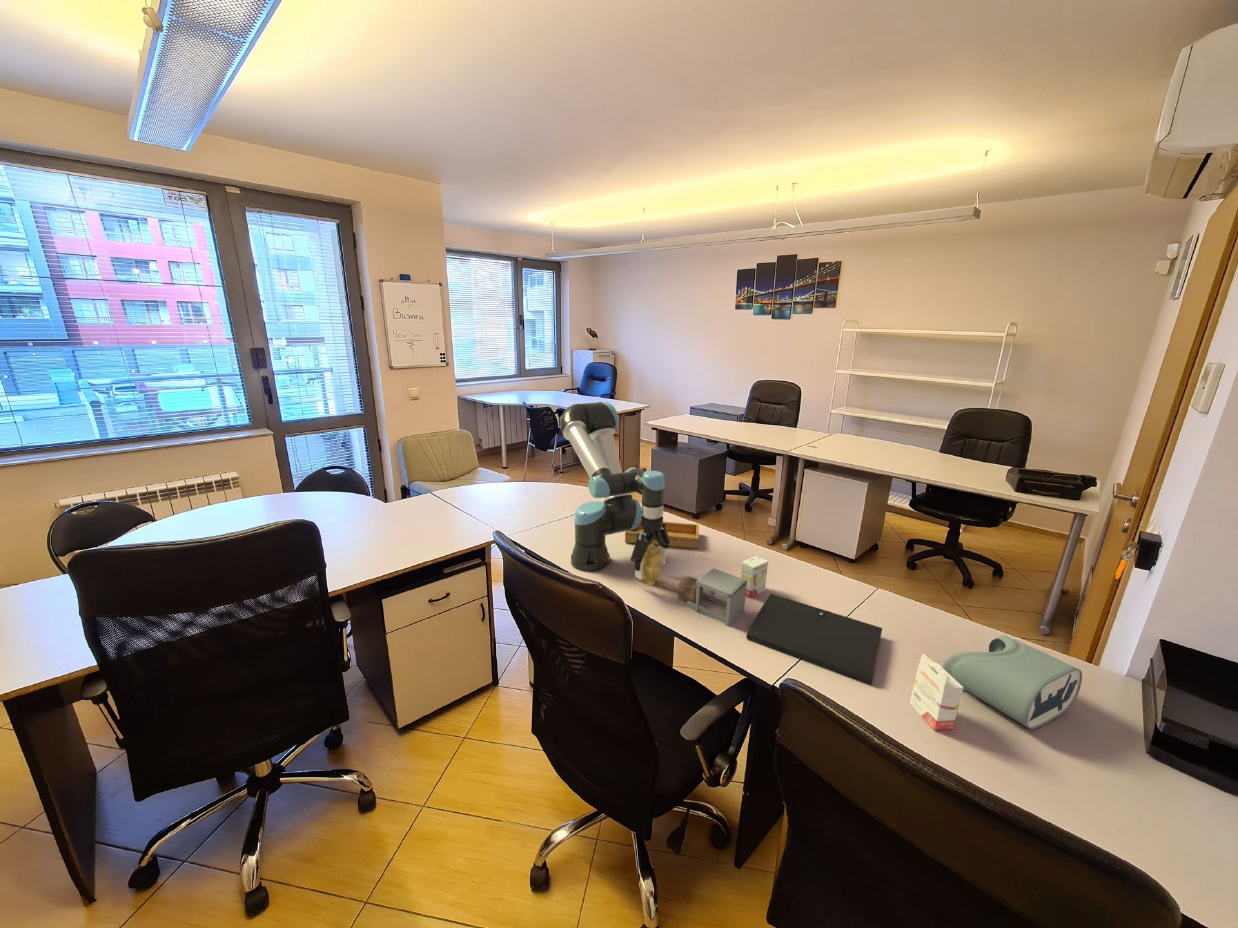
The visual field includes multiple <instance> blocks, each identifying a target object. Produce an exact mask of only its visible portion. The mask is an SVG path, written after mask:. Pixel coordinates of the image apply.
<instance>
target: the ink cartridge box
mask: <svg viewBox="0 0 1238 928" xmlns="http://www.w3.org/2000/svg"><path fill="white" fill-rule="evenodd" d="M917 666H918V667H917V669H916V674H915V679H914V683H913V688H912V692H911V696H910V701H909V704H910V705H911V706H912V707H913V708H914V710H916V712H917V713H918V714H919V715H920V716H921V718H922V719H924V721H925V723H927V724H928V725H929V726H930V727H931V729H933V730H934V731H945V730H953V729H954V726H955V722H956V718H957V715H958V710H959V707H960V703H961V700H962V699H961V698H962V695H963V691H964V689H963V686H961V685H960V684H959V683H958V682H957V681H956V680H955V679H954V678H953V677H952V676H951V675H950V674H949V673H948V672H946V671H945V670H944V669H943V666H941V665H940V664H939V663H938V662H934V661H932V660H931V659H930V658H929V657H928V656H927V655H926V654H925V653H922V655H921V657H920V661H919V663H918V665H917Z"/></svg>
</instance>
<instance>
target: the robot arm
mask: <svg viewBox="0 0 1238 928" xmlns="http://www.w3.org/2000/svg"><path fill="white" fill-rule="evenodd" d="M618 425H619V415H618V412H617V410H616V408H615V406H614V405H613V404H611V402H607V401H605V402H603V401H598V402H587V403H585V402H584V403H575V404H572V405H569V406H568V407H567V408H566V409H565V410H564V411H563V413H562V414H561V417H560V420H559V427H560V431H561V434H562V435H563V438H564V439H565V440H567V441H569V443H570V445H571V446H572V448H573V450H574V452H575V453H576V455H577V457H578V458H579V461H580V463H581V464H582V466H583V467H584V469H585V472H586V473H587V475H588V477H589V480H588V490H589V493H590V495H591V496H592V497H593V498H595V499H601V498H604V499H603V502H602V501H594V500H593V501H587V502H584V503H582V504H580V505H578V506H577V508H576V509H575V512H574V520H573V521H574V539H575V543H574V547H573V549H572V553H571V555H570V564H571V566H572V567H573V568H575V569H577V570H579V571H584V572H594V571H600V570H604V569H605V568H607V567H608V566H609V565H610V561H611V560H610V558H611V555H610V553H609V551H608V546H607V545H606V536H610V535H613V534H618V533H619V534H620V533H624V532H626V531H630V530H633V529H636V528H637V527H638V526H639V525H640V523H641V525H642V527H643V529H644V530H643V533H641V534H640V533H638V534H637V540H636V543H634V546H633V547H634V548H633V550H632V554H631V557H630V561H631V562H634V571H635V572H634V577H635V578H637V579H639V580H640V579H642V578H643V562H642V559H643V557H644V554H645V552H646V550H647V548H648V546H649V545H650V544H651V542H653V541H654V540H657V542H658V543H659V545H660V546H658V547H660V548H661V558H660V565H663V566H664V565H666V554H667V553H666V551H667V550H666V549H669V545H667V544H670V540H669V537H668V534H667V531H666V524H664V523H663V521H664V517H663V516H664V502H665V488H666V487H665V486H666V484H665V480H666V479H665V474H664V473H663V472H661V471H657V470H647V471H643V470H641V469H639V468H636V467H629V468H628V469H626V470H625V471H624V472H623V470H622V466H621V462H620V458H619V454H618V451H617V446H616V441H615V437H614V435H615V433H616V428H618ZM632 493H638V494H639V495H641V504H640V502H639V500H637V499H634V498H633V496H632V495H633V494H632ZM644 540H646V541H644ZM647 541H648V542H647Z"/></svg>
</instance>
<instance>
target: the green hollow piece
mask: <svg viewBox="0 0 1238 928" xmlns="http://www.w3.org/2000/svg"><path fill="white" fill-rule="evenodd" d="M942 668H943V669H944V670H945V671H946V672H948V673H949V674H950V675H951V676H952V677H953V678H954V679H955V680H956V681H957V682H958V683H959V684H960V685H961V686H963V691H964V690H965V691H967V692H969V693H971V694H972V695H974V696H975V697H977V698H978V699H980V700H982V701H983V702H984V703H987V704H989V705H990V706H992V707H994V708H995V709H997V710H999V711H1000V712H1002V713H1004V714H1005V715H1006V716H1008V717H1010V718H1012V719H1014V720H1015V721H1017V722H1018V723H1020V724H1021V725H1023V726H1024V727H1026V728H1028V729H1030V730H1034V729H1037V728H1040V727H1041V726H1044V725H1046V724H1048V723H1050V722H1051V721H1053V720H1055V719H1056V718H1058V717H1060V716H1061V715H1063V714H1064V713H1065V712H1067V710H1069V708H1071V706H1072V705H1073V704H1074V702H1075V701H1076V700H1077V698H1078V695H1079V692H1080V690H1081V685H1082V681H1083V671H1082V670H1081V669H1079V668H1077V667H1075V666H1073V665H1071V664H1070V663H1069V664H1068V663H1067V662H1065V661H1063V660H1060V659H1059V658H1056V657H1053V656H1052V655H1050V654H1048V653H1045V652H1044V651H1041V650H1039V649H1037V648H1034V647H1032V646H1031V645H1030V646H1029V645H1027V644H1025V643H1023V642H1021V641H1020V640H1018V639H1014V638H1011V637H1009V636H1007V635H1000V636H999V635H998V636H997V637H996V638H994V639H992V640H991V641H990V643H989V645H988V651H965V652H963V651H962V652H958V653H955V654H952V655H951V656H949V657H947V658H946V659H945V660H944V662H943V664H942Z"/></svg>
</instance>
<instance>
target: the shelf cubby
mask: <svg viewBox="0 0 1238 928" xmlns="http://www.w3.org/2000/svg"><path fill="white" fill-rule="evenodd" d="M696 584H697V590H696V603H692V602H690V601H687V602H686V606H687V607H689V608H691V609H693V610H694V612H697V613H699V612H700V613H702V614H704V615H706V616H709V617H711V618H713V619H716V620H717V621H720V622H722V623H724V625H725V626H726V627H729V626H730V625H731V624H732V623H733V622H734V621H735V620H736V619H737V618H738V617H739V616H740V615H741V614H742V613H743V612H744V611H745V605H746V597H747V596H746V586H747V580H744V579H742V578H741V577H739V576H737V575H734V574H731V573H728V572H726V571H724V570H723V571H722V570H719V569H718V568H715V567H713V568H712V569H710V570H709V571H707V572H706V573H705V574H703V576H701V577H700V578H699V579H698V580H697V581H696ZM700 586H702V587H703V589H704V588H705V589H707V590H709V591H710V593H709V592H706V591H704V590H703V596H702V598H703V597H704V598H705V599H708V600H710V601H712V602H715V603H718V604H719V605H723V606H724V607H726V610H725V616H724V615H722V614H720V613H717V612H715V611H713V610H711V609H708V608H705V607H703V606H702V605H700V600H699V597H700ZM715 593H717V594H719V595H721V596H724V597H727V599H724V598H720V597H718V596H716V595H715Z"/></svg>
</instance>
